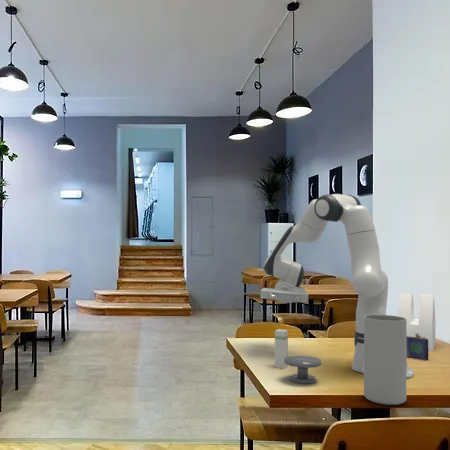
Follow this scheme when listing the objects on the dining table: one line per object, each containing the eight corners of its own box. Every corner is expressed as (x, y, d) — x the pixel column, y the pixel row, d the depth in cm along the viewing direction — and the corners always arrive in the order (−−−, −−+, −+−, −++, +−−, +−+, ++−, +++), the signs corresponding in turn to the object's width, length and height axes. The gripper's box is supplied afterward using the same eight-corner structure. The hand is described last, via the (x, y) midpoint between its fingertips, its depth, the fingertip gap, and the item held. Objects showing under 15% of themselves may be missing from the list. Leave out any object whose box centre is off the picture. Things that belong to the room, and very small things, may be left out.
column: (287, 366, 182) (288, 330, 182) (284, 368, 178) (285, 331, 179) (277, 364, 183) (278, 329, 184) (274, 367, 180) (274, 330, 180)
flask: (405, 357, 201) (405, 332, 201) (407, 356, 203) (407, 331, 204) (427, 360, 195) (427, 335, 195) (429, 359, 197) (429, 334, 198)
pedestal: (324, 377, 166) (325, 358, 167) (316, 387, 155) (317, 366, 155) (289, 373, 172) (289, 354, 172) (279, 382, 160) (279, 361, 160)
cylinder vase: (357, 392, 150) (358, 314, 152) (395, 392, 151) (395, 314, 152) (372, 405, 138) (373, 320, 139) (413, 405, 139) (413, 321, 140)
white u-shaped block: (432, 351, 214) (432, 296, 215) (396, 347, 221) (396, 294, 222) (435, 344, 231) (435, 293, 232) (402, 340, 238) (402, 291, 239)
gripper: (261, 283, 207) (259, 288, 193) (307, 287, 204) (309, 293, 190) (260, 297, 207) (258, 303, 193) (306, 302, 204) (308, 308, 191)
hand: (284, 298), depth 192 cm, fingers open, 8 cm apart
